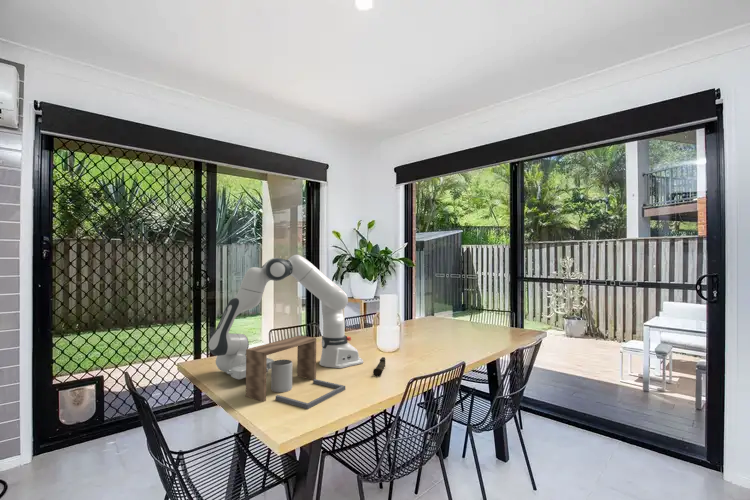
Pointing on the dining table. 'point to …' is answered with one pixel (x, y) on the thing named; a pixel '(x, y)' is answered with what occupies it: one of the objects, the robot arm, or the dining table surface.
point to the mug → (281, 375)
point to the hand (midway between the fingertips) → (265, 371)
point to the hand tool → (379, 367)
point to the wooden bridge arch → (258, 355)
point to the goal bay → (308, 405)
